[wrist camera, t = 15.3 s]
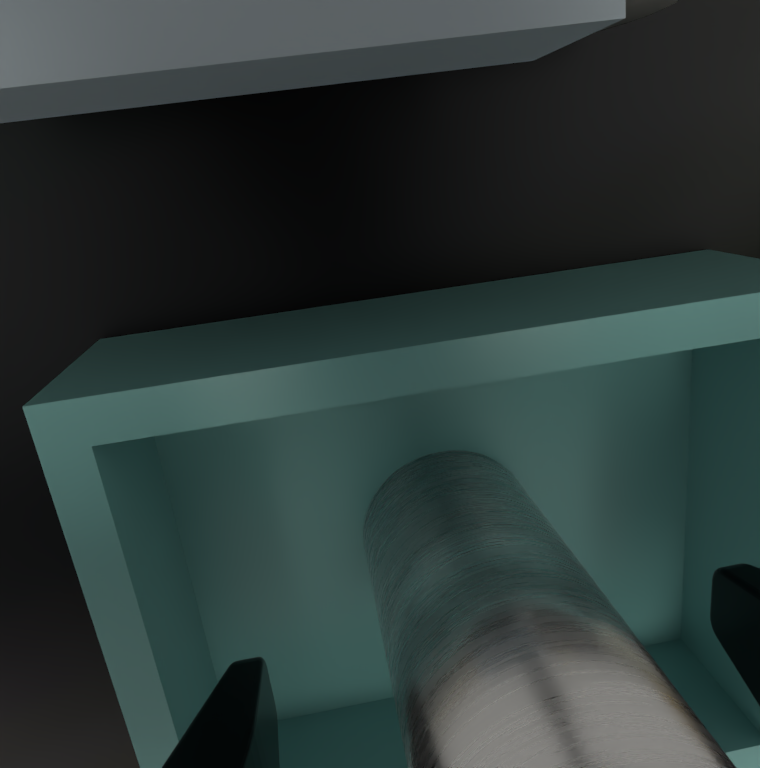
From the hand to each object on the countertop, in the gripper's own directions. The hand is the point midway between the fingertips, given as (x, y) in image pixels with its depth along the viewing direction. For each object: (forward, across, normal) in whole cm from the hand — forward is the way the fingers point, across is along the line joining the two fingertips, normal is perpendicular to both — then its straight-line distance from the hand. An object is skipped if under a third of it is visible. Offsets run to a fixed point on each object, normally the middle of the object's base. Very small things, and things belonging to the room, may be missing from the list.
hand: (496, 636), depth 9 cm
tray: (+4, 0, 0) cm, 4 cm away
